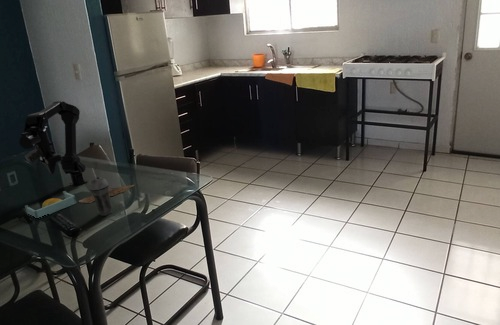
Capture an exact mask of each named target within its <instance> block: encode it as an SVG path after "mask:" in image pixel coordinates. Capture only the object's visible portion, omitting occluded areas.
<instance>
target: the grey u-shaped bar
mask: <svg viewBox="0 0 500 325" xmlns="http://www.w3.org/2000/svg"><path fill="white" fill-rule="evenodd" d="M62 194H63V197H64V199H61V201H59V202H56V203H54V204H51V205H49V206H46V207H44V208H42V207H41V208H39V209H36V210H35V209H33V208H31V207H30V206H29V205H28V204H26V205H24V207H25V211H26V215H28V214H30V215H32V216H34V217H35V218H39V217H41V218H43V217H42V216H44V215H46V216H48V215H47V214H49V215H51V214H54V213H56V212H58V211H60V210H64V209H65V208H68V207H71V206H73V205H75V204H77V203H78V202H77V199H76V196H75V195H74V194H72V193H68V192H67V191H66V190H64V191H62ZM30 215H29V216H30ZM32 216H31V217H32ZM44 217H45V216H44ZM35 218H34V219H35ZM39 219H40V218H39Z"/></svg>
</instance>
